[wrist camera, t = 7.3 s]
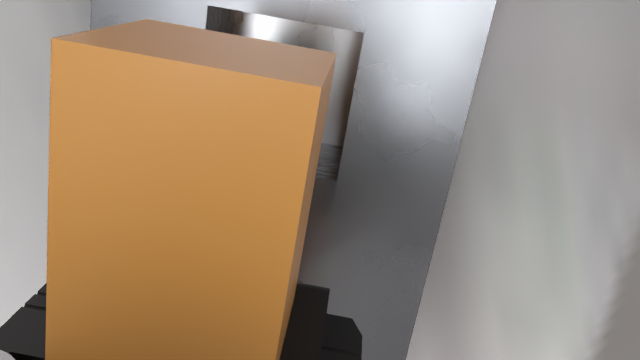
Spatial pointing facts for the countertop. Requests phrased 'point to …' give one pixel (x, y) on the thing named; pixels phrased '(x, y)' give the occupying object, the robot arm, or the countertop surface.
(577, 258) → the countertop surface
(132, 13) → the metal panel
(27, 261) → the countertop surface
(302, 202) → the orange arch block
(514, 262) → the countertop surface
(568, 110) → the countertop surface
